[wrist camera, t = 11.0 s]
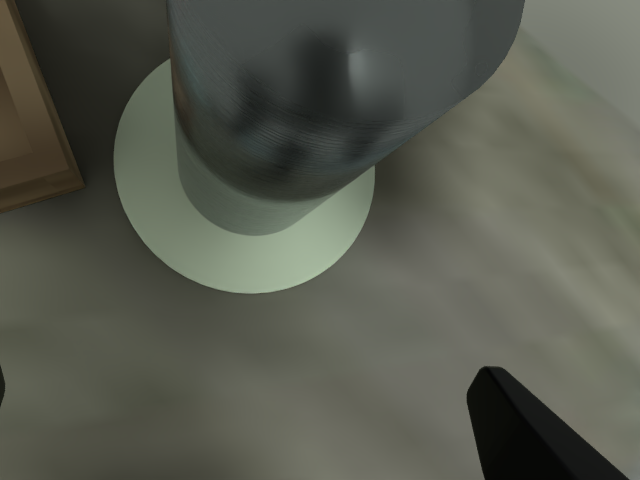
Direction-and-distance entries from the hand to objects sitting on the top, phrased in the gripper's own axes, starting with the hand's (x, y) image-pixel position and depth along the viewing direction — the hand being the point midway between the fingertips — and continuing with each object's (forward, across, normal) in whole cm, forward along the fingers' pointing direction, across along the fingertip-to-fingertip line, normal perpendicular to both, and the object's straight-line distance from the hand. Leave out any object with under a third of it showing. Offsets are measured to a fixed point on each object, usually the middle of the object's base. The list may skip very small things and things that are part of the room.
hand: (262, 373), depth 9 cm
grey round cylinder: (+11, 0, +1) cm, 11 cm away
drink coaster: (+11, 0, +2) cm, 11 cm away
